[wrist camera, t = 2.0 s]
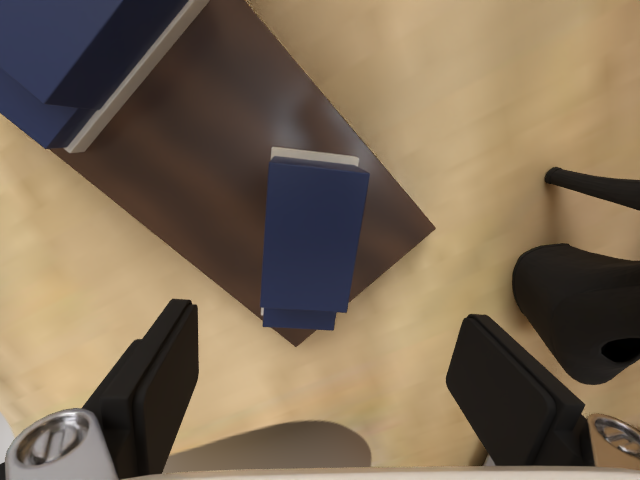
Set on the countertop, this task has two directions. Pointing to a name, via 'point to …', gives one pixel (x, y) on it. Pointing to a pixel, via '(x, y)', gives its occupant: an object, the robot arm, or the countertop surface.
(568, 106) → the countertop surface
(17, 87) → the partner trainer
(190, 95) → the dark brown flat board
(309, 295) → the blue pale-edged block
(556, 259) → the high-heeled shoe
